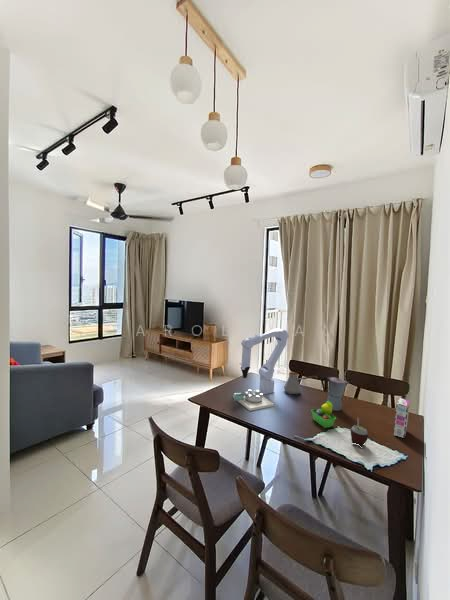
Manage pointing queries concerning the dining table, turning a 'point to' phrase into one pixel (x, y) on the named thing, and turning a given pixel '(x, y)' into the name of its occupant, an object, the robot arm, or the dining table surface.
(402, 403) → the candy bar box
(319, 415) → the fruit basket
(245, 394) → the teal elongated tool
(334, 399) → the moka pot
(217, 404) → the dining table surface
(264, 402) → the base plate
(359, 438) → the mate gourd
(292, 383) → the coffee pot
